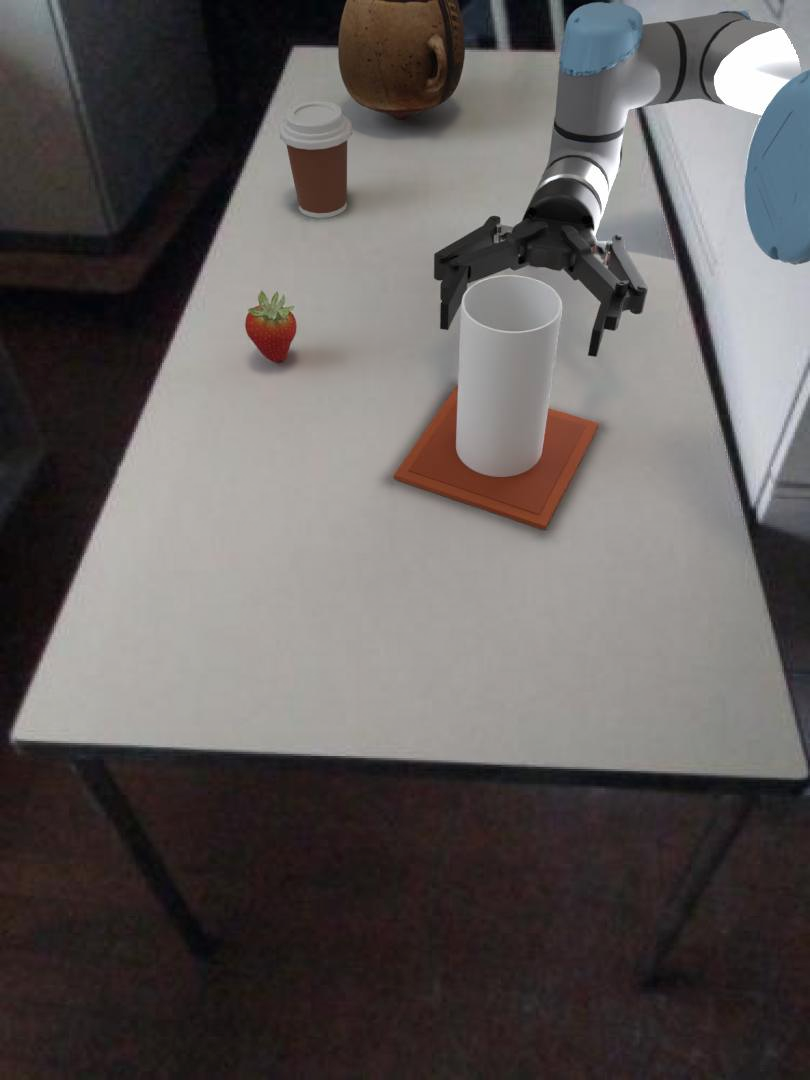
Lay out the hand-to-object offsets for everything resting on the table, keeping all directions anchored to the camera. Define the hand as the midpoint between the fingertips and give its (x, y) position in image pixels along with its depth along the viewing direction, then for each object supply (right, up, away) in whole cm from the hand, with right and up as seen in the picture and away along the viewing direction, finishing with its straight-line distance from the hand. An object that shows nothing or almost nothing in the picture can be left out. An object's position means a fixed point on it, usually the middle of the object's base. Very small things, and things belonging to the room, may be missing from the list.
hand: (517, 330), depth 76 cm
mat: (-1, -10, +6) cm, 12 cm away
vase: (-10, +46, +55) cm, 72 cm away
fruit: (-24, +1, +16) cm, 29 cm away
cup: (-1, -10, +6) cm, 12 cm away
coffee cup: (-21, +26, +38) cm, 50 cm away
